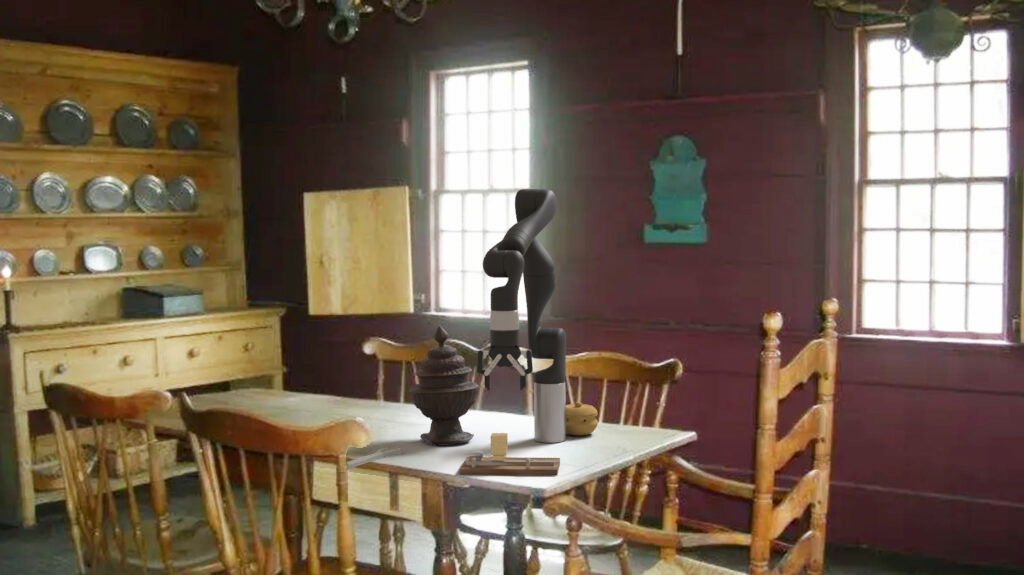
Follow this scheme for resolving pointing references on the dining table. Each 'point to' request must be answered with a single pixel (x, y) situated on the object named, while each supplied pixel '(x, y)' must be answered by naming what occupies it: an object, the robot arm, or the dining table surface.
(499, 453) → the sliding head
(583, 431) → the pot
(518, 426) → the dining table surface
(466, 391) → the decorative urn
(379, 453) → the adjustable wrench
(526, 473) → the wooden slider board
